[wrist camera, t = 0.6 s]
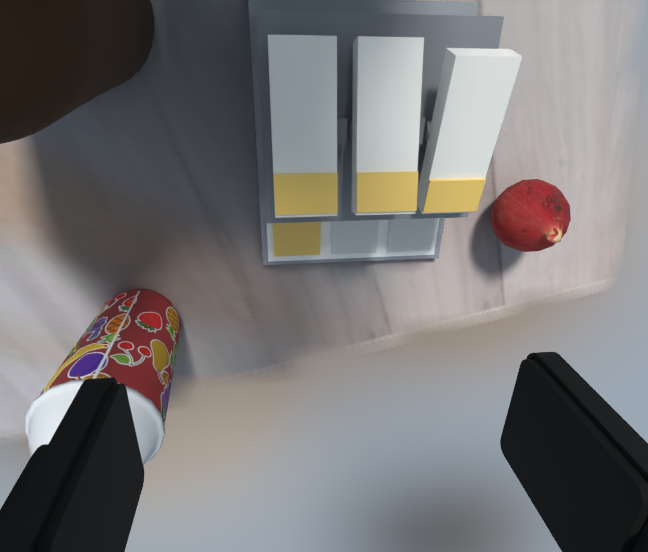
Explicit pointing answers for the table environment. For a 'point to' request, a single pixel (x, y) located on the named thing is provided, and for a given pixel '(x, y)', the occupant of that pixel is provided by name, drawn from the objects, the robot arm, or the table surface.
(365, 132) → the rocker
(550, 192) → the onion
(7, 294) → the table surface
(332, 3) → the switch unit
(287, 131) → the rocker
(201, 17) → the table surface
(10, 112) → the olive oil
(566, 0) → the table surface
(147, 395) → the smoothie
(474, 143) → the rocker
